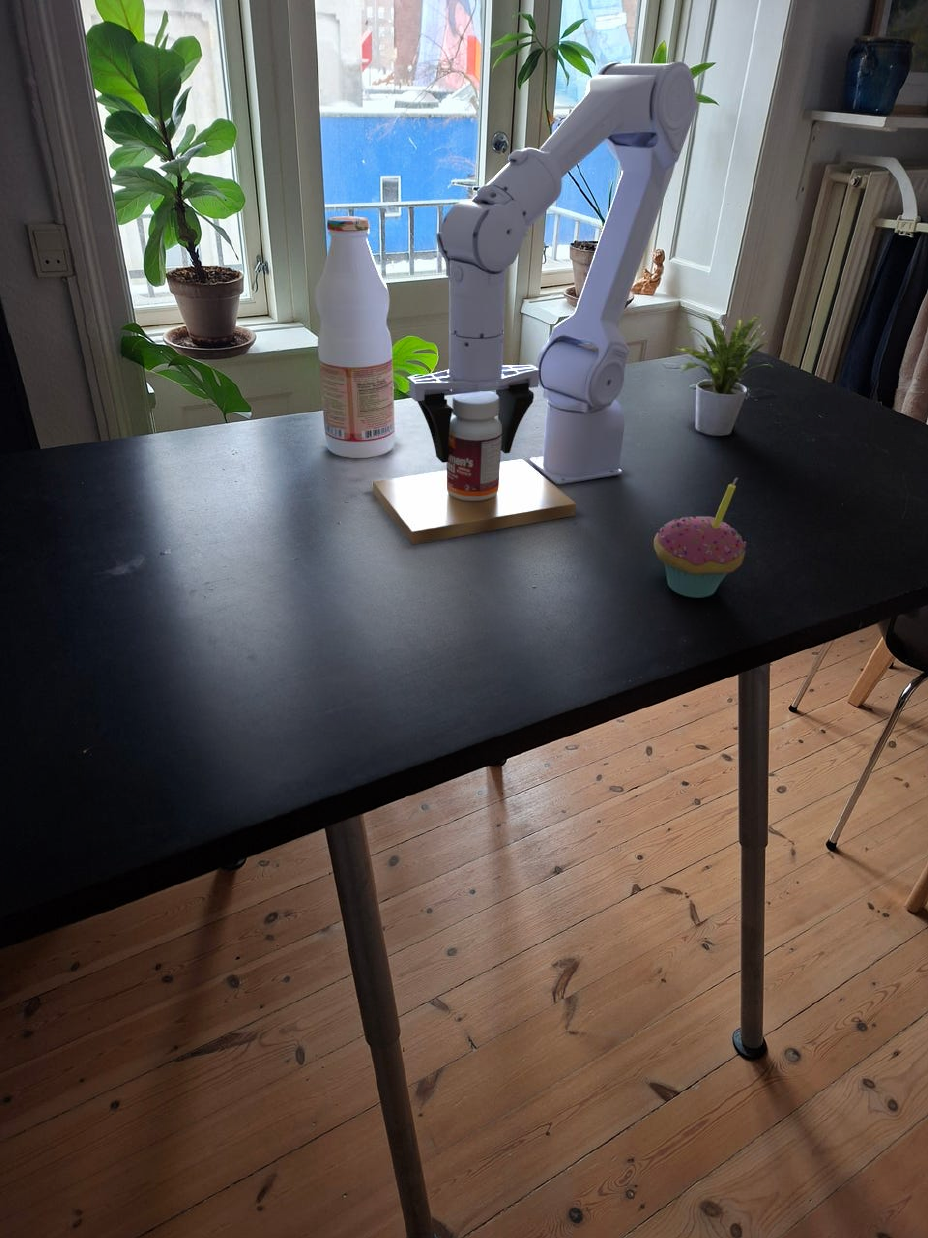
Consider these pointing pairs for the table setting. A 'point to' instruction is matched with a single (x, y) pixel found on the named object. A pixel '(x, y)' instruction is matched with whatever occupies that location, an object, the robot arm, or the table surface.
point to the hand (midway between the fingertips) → (473, 454)
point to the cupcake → (699, 551)
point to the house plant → (722, 377)
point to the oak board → (470, 504)
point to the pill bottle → (474, 446)
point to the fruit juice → (354, 345)
